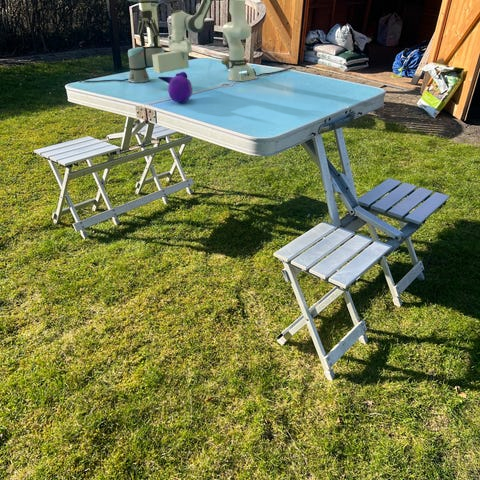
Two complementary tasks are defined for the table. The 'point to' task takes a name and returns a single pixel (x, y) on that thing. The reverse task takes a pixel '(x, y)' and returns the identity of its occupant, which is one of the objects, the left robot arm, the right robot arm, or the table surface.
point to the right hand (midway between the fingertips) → (181, 59)
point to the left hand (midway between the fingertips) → (149, 47)
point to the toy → (178, 87)
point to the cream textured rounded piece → (226, 62)
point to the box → (169, 61)
